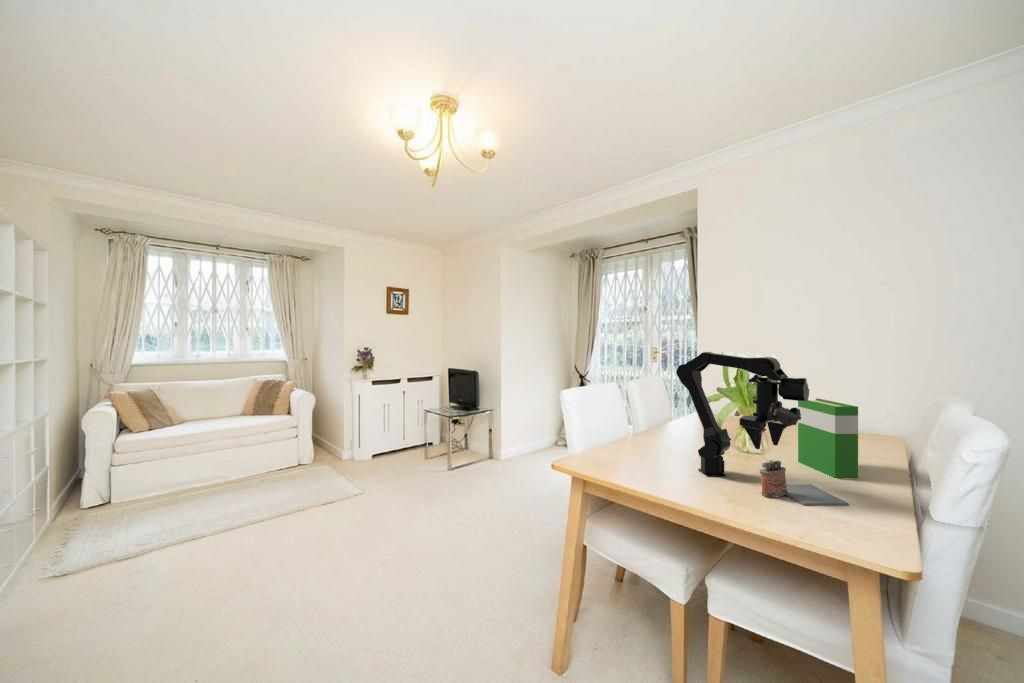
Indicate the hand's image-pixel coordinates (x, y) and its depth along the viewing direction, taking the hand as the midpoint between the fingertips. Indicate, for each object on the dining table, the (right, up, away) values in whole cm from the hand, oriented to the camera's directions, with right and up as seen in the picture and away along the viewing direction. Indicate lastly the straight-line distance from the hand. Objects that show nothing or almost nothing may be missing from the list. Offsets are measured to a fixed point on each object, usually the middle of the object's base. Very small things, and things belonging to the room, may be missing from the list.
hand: (766, 447), depth 122 cm
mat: (+8, -13, -6) cm, 16 cm away
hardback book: (+31, -13, +16) cm, 37 cm away
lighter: (-2, -13, -6) cm, 14 cm away
